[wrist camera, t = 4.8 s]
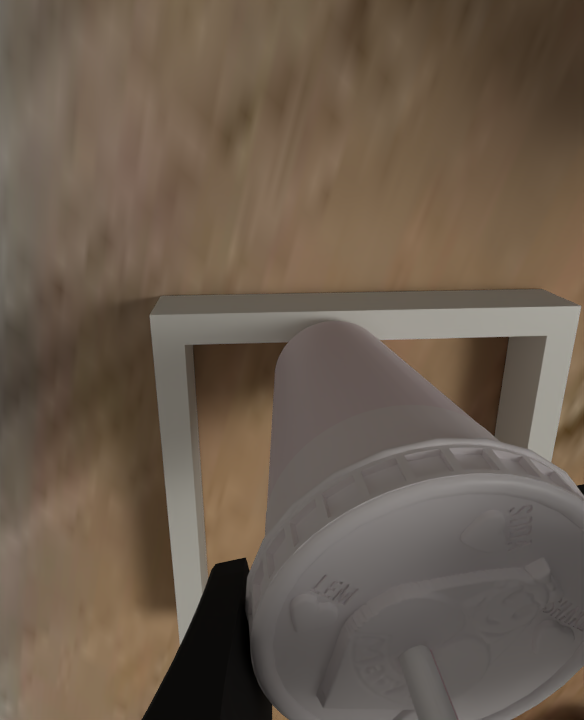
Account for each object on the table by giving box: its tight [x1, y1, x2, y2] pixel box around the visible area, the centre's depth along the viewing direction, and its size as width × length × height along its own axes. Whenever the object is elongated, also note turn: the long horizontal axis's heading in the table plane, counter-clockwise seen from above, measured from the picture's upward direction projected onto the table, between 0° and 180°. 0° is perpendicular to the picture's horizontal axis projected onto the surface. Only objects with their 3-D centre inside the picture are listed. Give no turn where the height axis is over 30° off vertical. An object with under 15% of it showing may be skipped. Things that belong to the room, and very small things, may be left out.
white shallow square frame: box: [150, 289, 581, 645], centre depth 21 cm, size 14×14×2 cm
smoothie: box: [245, 321, 584, 720], centre depth 11 cm, size 6×6×14 cm
